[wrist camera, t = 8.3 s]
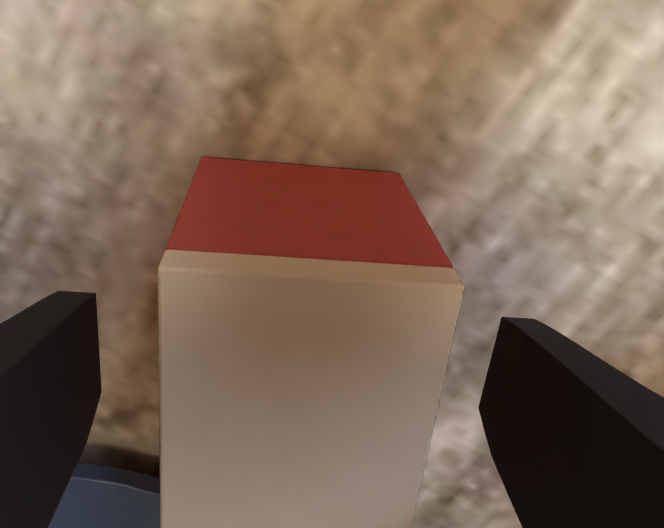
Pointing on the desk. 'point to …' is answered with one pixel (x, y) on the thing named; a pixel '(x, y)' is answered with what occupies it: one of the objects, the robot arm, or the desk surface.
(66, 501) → the pot lid
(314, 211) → the red two-tone block
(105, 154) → the desk surface
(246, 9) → the desk surface
